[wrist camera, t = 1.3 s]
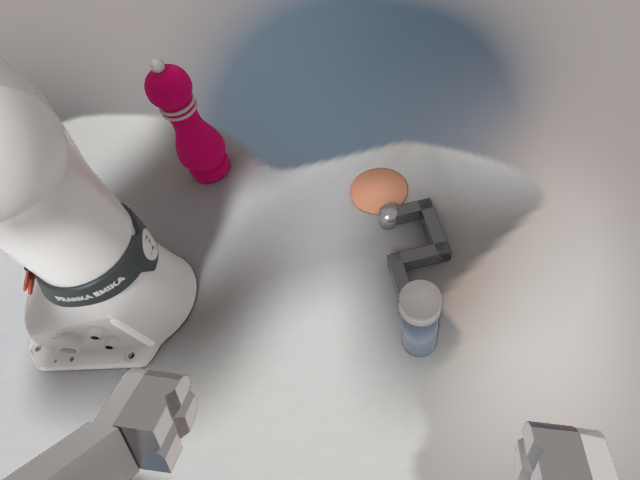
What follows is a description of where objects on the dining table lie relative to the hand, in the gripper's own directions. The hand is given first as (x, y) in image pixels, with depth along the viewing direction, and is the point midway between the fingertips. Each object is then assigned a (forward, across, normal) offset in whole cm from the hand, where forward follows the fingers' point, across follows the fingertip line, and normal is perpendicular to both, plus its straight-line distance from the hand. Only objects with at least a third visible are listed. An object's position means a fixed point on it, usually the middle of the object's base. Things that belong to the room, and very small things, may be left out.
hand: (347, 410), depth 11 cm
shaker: (+30, +4, -30) cm, 43 cm away
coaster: (+51, -2, -23) cm, 56 cm away
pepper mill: (+55, -29, -23) cm, 66 cm away
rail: (+41, +4, -26) cm, 49 cm away
